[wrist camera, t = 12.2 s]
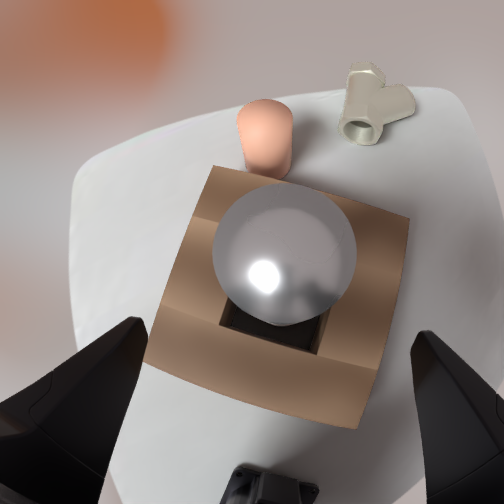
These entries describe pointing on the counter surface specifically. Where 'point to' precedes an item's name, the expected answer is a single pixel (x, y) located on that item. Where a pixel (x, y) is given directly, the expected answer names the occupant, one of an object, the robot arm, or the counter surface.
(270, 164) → the short terracotta pin
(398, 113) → the pipe fitting
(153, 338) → the walnut block
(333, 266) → the tall metal pin
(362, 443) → the counter surface
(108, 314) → the counter surface
